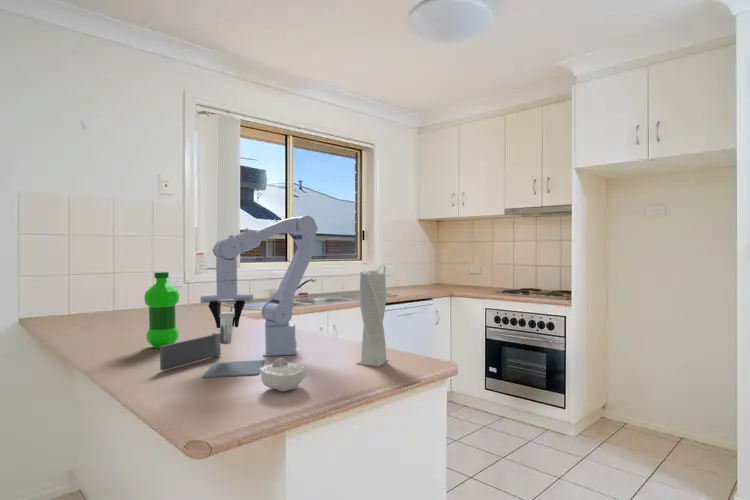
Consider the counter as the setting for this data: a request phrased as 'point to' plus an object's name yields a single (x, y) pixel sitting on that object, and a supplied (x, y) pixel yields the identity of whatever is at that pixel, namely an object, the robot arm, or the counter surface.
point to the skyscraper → (373, 317)
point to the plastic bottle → (162, 311)
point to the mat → (234, 369)
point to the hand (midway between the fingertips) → (227, 327)
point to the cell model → (282, 375)
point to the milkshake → (226, 326)
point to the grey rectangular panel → (189, 351)
